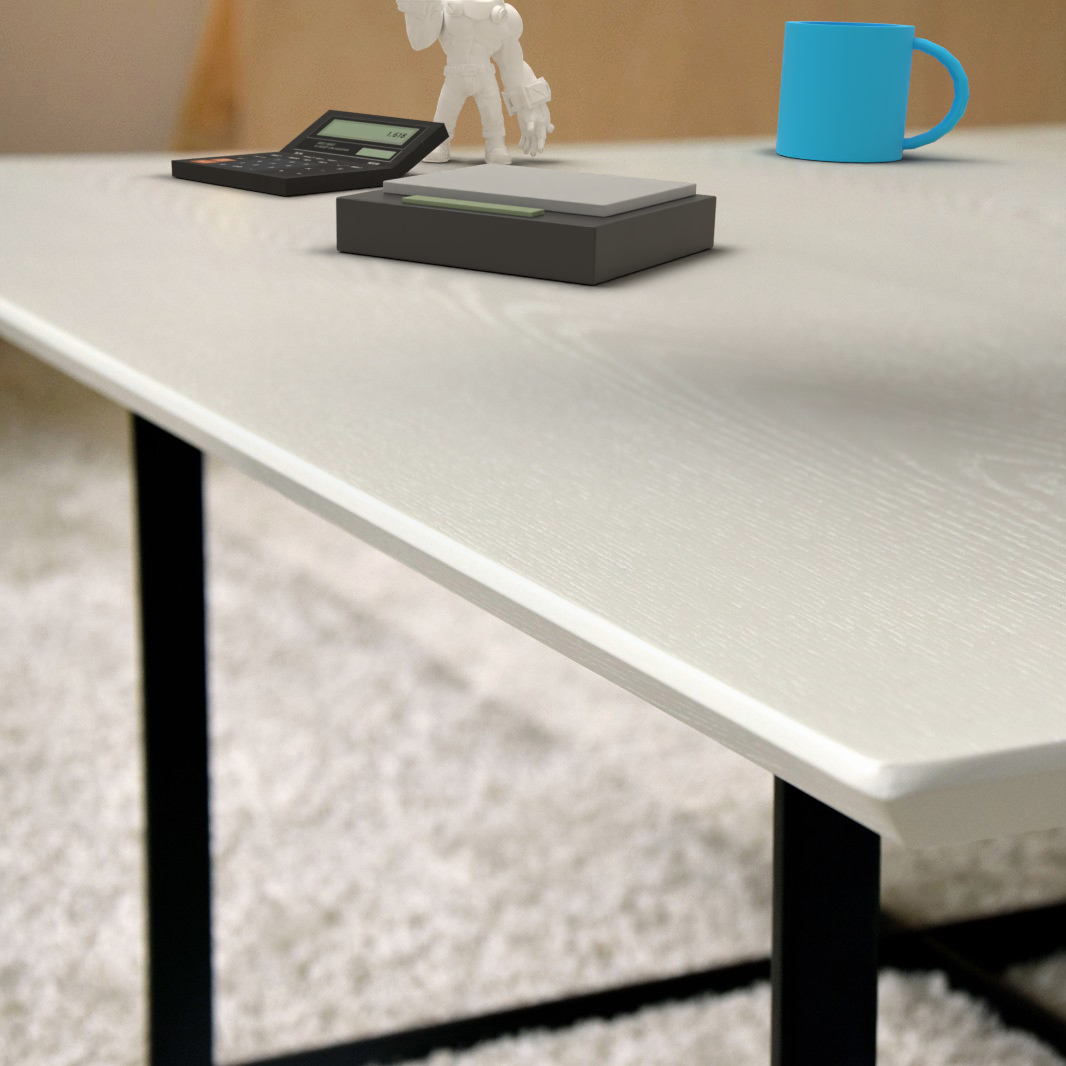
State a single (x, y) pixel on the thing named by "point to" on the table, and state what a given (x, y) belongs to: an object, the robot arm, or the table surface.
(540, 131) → the figurine
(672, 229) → the scale
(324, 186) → the calculator
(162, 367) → the table surface
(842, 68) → the mug
